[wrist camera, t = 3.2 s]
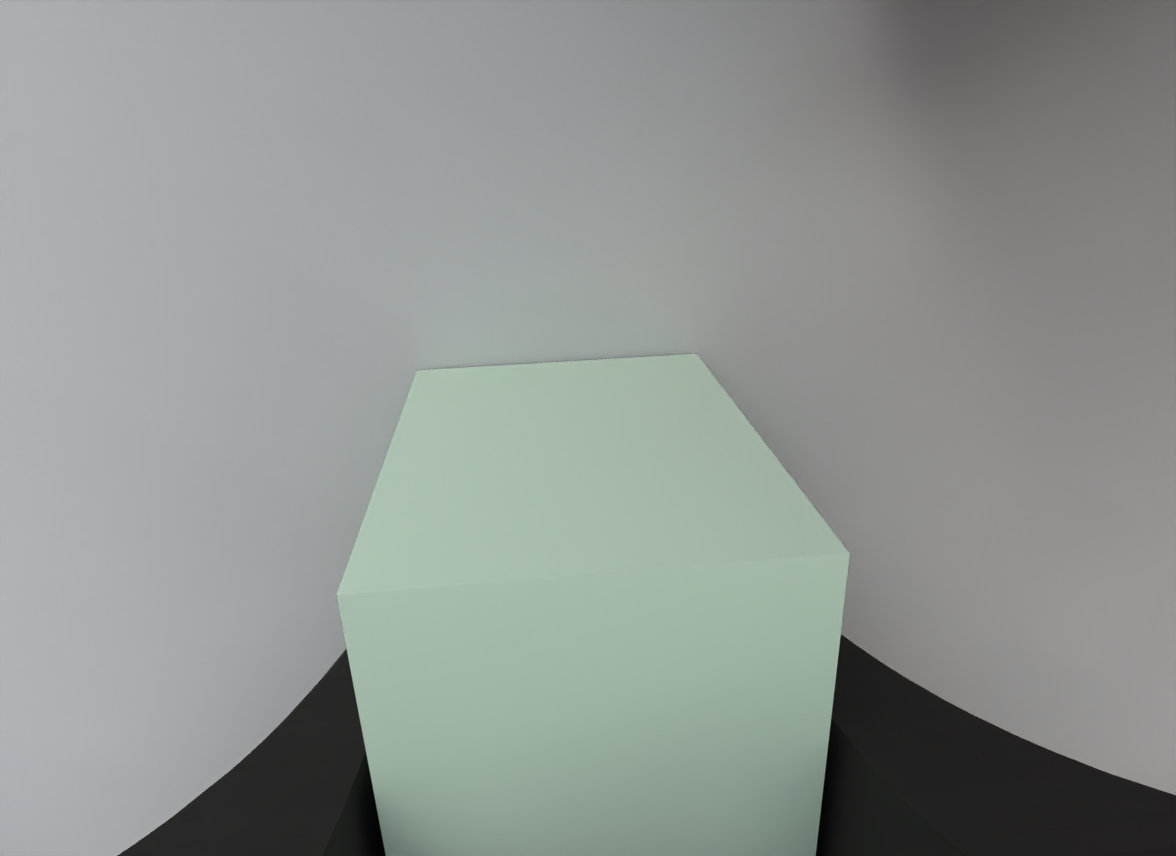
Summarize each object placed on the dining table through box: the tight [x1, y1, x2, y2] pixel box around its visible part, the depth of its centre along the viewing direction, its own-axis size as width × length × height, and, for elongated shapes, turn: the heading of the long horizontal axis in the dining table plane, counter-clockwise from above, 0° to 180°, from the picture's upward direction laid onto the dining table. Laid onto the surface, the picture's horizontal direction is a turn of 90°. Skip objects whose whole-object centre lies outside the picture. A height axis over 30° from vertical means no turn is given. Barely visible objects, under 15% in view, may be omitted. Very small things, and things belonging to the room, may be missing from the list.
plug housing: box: [336, 353, 850, 856], centre depth 11 cm, size 4×8×6 cm, turn 2°
